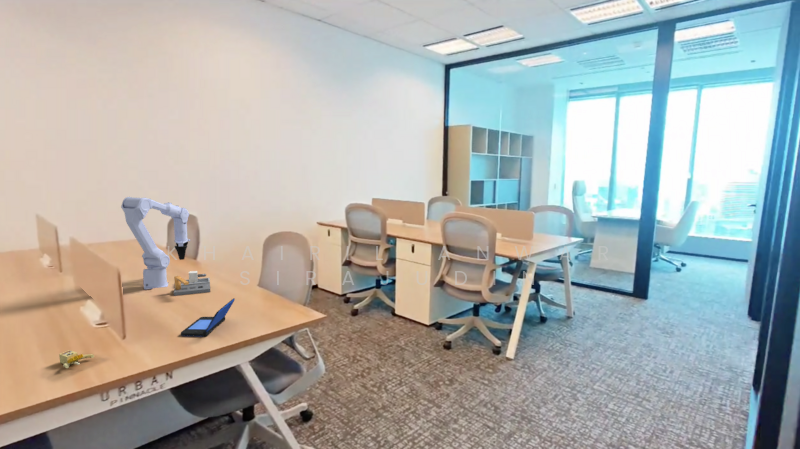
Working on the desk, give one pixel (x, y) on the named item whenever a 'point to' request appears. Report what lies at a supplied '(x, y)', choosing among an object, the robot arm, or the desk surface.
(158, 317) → the desk surface
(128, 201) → the robot arm
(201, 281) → the tray
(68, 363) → the character toy
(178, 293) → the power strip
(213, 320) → the handheld game console
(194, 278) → the plug
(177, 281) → the clip
